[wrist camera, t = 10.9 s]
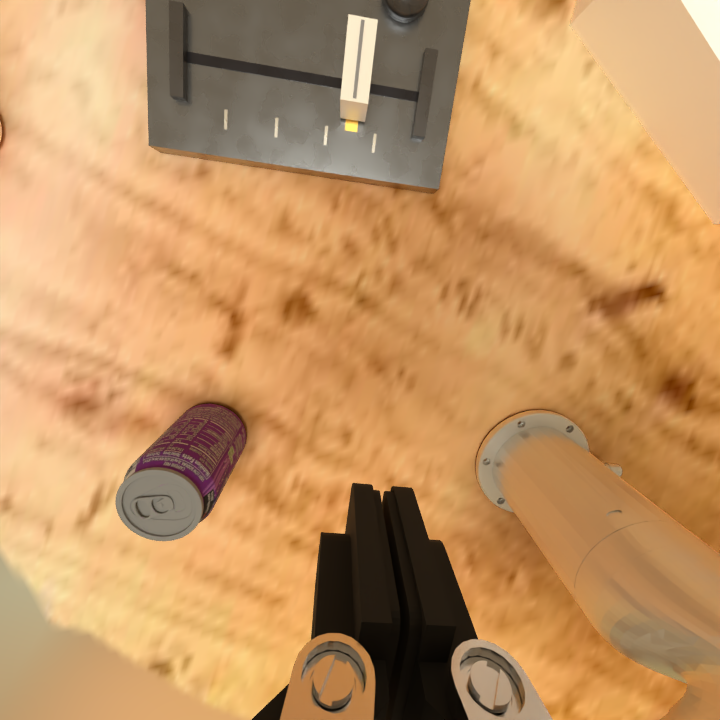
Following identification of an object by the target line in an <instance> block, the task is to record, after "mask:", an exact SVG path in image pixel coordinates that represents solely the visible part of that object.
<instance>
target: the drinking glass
mask: <svg viewBox="0 0 720 720" xmlns="http://www.w3.org/2000/svg"><path fill="white" fill-rule="evenodd" d="M1 138H2V126H1V122H0V142H1Z"/></svg>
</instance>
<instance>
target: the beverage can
mask: <svg viewBox="0 0 720 720" xmlns="http://www.w3.org/2000/svg"><path fill="white" fill-rule="evenodd" d="M245 444H246V431H245V428H244V425H243V423H242V422H241V420H240V419H239V417H238V416H237V415H236V414H235V413H233V412H232V411H231V410H229V409H227V408H225V407H223V406H220V405H216V404H201V405H197V406H194V407H192V408H190V409H189V410H187V411H186V412H185V413H184V414H183V415H182V416H181V417H180V418H179V419H178V420H177V421H176V422H175V423H174V424H173V425H172V426H171V427H169V428H168V429H167V430H166V431H165V432H164V433H163V434H162V435H161V436H160V437H159V438H158V439H157V440H156V441H155V442H154V443H153V444H152V445H151V446H150V447H149V448H148V449H147V450H146V451H145V452H144V453H143V454H142V455H141V456H140V457H139V458H138V459H137V460H136V461H135V462H134V463H133V464H132V465H131V467H130V468H129V469H128V471H127V473H126V475H125V478H124V482H123V483H122V484H121V486H120V488H119V489H118V492H117V495H116V509H117V512H118V515H119V517H120V518H121V520H122V521H123V523H124V524H125V525H126V526H127V527H128V528H129V529H130V530H131V531H133V532H134V533H136V534H138V535H140V536H142V537H144V538H147V539H151V540H156V541H171V540H176V539H179V538H182V537H184V536H186V535H187V534H189V533H190V532H191V531H192V530H194V528H195V527H196V526H197V524H198V523H200V522H201V521H202V520H204V519H205V518H206V517H207V516H208V515H209V513H210V512H211V511H212V509H213V507H214V505H215V503H216V502H217V500H218V498H219V496H220V494H221V492H222V490H223V488H224V486H225V484H226V482H227V480H228V478H229V476H230V474H231V472H232V471H233V469H234V467H235V465H236V463H237V461H238V459H239V457H240V455H241V453H242V451H243V449H244V447H245Z"/></svg>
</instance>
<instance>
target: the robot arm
mask: <svg viewBox="0 0 720 720" xmlns="http://www.w3.org/2000/svg"><path fill="white" fill-rule="evenodd" d="M621 475H622V468H621V467H620V465H618V464H611V463H605V464H604V463H603V462H602V461H600V460H599V459H598V458H596V457H595V456H594V455H592V454H591V453H590V450H589V445H588V442H587V439H586V437H585V435H584V433H583V432H582V430H581V429H580V428H579V427H578V426H577V425H576V424H575V423H573V422H572V421H571V420H569V419H568V418H566V417H564V416H563V415H561V414H558V413H555V412H552V411H545V410H532V411H526V412H522V413H518V414H516V415H514V416H511V417H509V418H507V419H506V420H504V421H503V422H501V423H500V424H498V425H497V426H496V427H495V428H494V429H493V430H492V431H491V432H490V433H489V434H488V435H487V437H486V438H485V439H484V441H483V443H482V445H481V447H480V449H479V451H478V455H477V458H476V476H477V480H478V482H479V485H480V487H481V489H482V490H483V492H484V494H485V495H486V496H487V498H488V499H489V500H490V501H491V502H492V503H493V504H495V505H496V506H498V507H499V508H502V509H504V510H506V511H509V512H513V513H515V514H516V516H517V517H518V519H519V520H520V522H521V523H522V524H523V526H524V527H525V529H526V530H527V532H528V533H529V535H530V536H531V537H532V539H533V540H534V542H535V543H536V545H537V546H538V548H539V549H540V551H541V552H542V553H543V555H544V556H545V558H546V559H547V561H548V562H549V564H550V565H551V566H552V568H553V569H554V571H555V572H556V574H557V575H558V577H559V578H560V579H561V581H562V582H563V584H564V585H565V587H566V588H567V590H568V591H569V593H570V594H571V595H572V597H573V598H574V600H575V601H576V603H577V604H578V606H579V607H580V608H581V610H582V611H583V613H584V614H585V616H586V617H587V618H588V620H589V621H590V623H591V624H592V625H593V627H594V628H595V629H596V630H597V632H598V633H599V634H600V635H601V636H602V637H603V638H604V639H605V640H606V641H607V642H608V643H609V644H610V645H611V646H613V647H614V648H615V649H616V650H618V651H619V652H620V653H622V654H623V655H625V656H626V657H628V658H630V659H631V660H633V661H635V662H637V663H638V664H641V665H643V666H645V667H647V668H649V669H651V670H653V671H656V672H658V673H661V674H663V675H666V676H669V677H671V678H674V679H676V680H679V681H682V682H684V683H687V691H686V692H685V694H684V696H683V697H682V698H681V699H680V700H679V701H678V702H677V703H676V704H675V705H674V706H673V707H671V708H670V709H669V712H668V713H667V714H666V715H665V716H664V717H663V718H661V719H660V720H720V554H719V553H718V552H717V551H715V550H714V549H713V548H711V547H710V546H709V545H707V544H706V543H705V542H704V541H702V540H701V539H700V538H698V537H697V536H696V535H694V534H693V533H692V532H691V531H689V530H688V529H686V528H685V527H684V526H683V525H681V524H680V523H679V522H677V521H676V520H675V519H674V518H672V517H671V516H670V515H668V514H667V513H666V512H664V511H663V510H662V509H661V508H659V507H658V506H657V505H655V504H654V503H653V502H652V501H650V500H649V499H648V498H646V497H645V496H644V495H643V494H641V493H640V492H639V491H637V490H636V489H635V488H634V487H632V486H631V485H630V484H628V483H627V482H626V481H624V480H623V479H622V478H621V477H620V476H621ZM252 720H552V718H551V716H550V714H549V713H548V711H547V709H546V708H545V706H544V704H543V702H542V701H541V699H540V697H539V695H538V694H537V692H536V690H535V688H534V687H533V685H532V683H531V681H530V680H529V678H528V676H527V675H526V673H525V672H524V670H523V669H522V668H521V666H520V665H519V663H518V662H517V661H516V660H515V659H514V658H513V657H512V656H511V655H510V654H509V653H508V652H507V651H505V650H504V649H502V648H500V647H499V646H497V645H496V644H494V643H491V642H488V641H485V640H478V638H477V635H476V632H475V629H474V627H473V624H472V621H471V618H470V616H469V613H468V610H467V607H466V605H465V602H464V599H463V596H462V594H461V591H460V588H459V585H458V583H457V580H456V577H455V575H454V572H453V569H452V566H451V564H450V561H449V558H448V555H447V553H446V550H445V547H444V545H443V543H442V542H441V541H440V540H429V538H428V535H427V532H426V529H425V526H424V522H423V519H422V516H421V513H420V510H419V507H418V504H417V500H416V497H415V494H414V491H413V489H412V488H408V487H396V486H392V488H391V491H385V492H384V495H383V501H382V502H381V496H380V491H377V490H373V486H372V485H370V484H358V483H353V484H352V488H351V495H350V502H349V509H348V517H347V524H346V531H345V534H338V533H323V532H321V537H320V545H319V554H318V563H317V573H316V583H315V595H314V608H313V621H312V635H311V641H309V642H308V643H307V644H306V645H305V646H304V647H303V649H302V650H301V651H300V652H299V654H298V657H297V659H296V661H295V664H294V666H293V670H292V674H291V678H290V682H289V684H288V685H287V686H286V687H285V688H284V689H283V690H282V691H281V692H280V693H279V694H278V695H277V696H276V697H275V698H274V699H272V700H271V701H270V702H269V703H268V704H267V705H266V706H265V707H264V708H263V709H262V710H261V711H260V712H259V713H258V714H257V715H256V716H255V717H254V718H253V719H252Z"/></svg>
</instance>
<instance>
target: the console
mask: <svg viewBox="0 0 720 720" xmlns="http://www.w3.org/2000/svg"><path fill="white" fill-rule="evenodd" d="M469 6H470V0H146V40H147V85H148V130H149V146H151V147H152V148H154V149H156V150H157V151H159V152H161V153H167V154H174V155H180V156H187V157H194V158H200V159H207V160H213V161H220V162H227V163H233V164H240V165H247V166H253V167H260V168H267V169H273V170H280V171H287V172H293V173H300V174H307V175H313V176H320V177H327V178H333V179H340V180H347V181H353V182H360V183H366V184H373V185H380V186H386V187H393V188H400V189H406V190H413V191H420V192H426V193H434V192H436V191H437V190H438V189H439V184H440V178H441V172H442V166H443V160H444V154H445V148H446V143H447V137H448V131H449V125H450V119H451V113H452V107H453V101H454V95H455V89H456V83H457V77H458V71H459V65H460V59H461V54H462V48H463V42H464V36H465V30H466V24H467V18H468V12H469ZM348 14H350V15H356V16H361V17H366V18H372V19H377V20H378V23H377V31H376V40H375V49H374V57H373V66H372V75H371V83H370V92H369V101H368V107H367V113H366V119H365V122H361V121H355V120H349V119H343V118H340V96H341V86H342V75H343V65H344V55H345V45H346V35H347V24H348Z"/></svg>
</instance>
